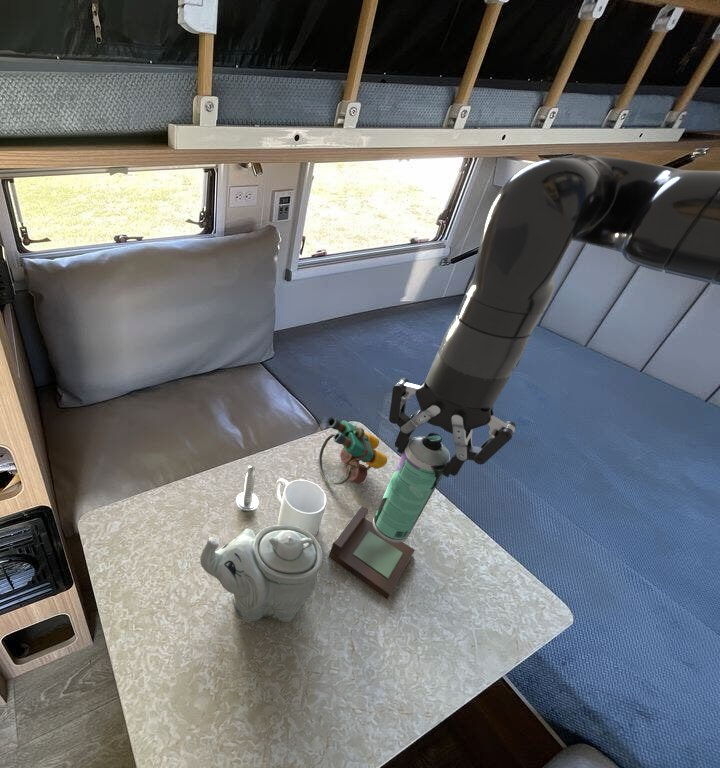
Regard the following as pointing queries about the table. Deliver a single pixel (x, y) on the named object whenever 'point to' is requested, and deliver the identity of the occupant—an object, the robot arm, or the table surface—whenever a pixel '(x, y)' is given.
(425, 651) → the table surface
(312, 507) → the cup
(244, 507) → the screw
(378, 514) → the spray can
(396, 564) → the brown wooden square frame
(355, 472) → the binoculars
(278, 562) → the teapot
